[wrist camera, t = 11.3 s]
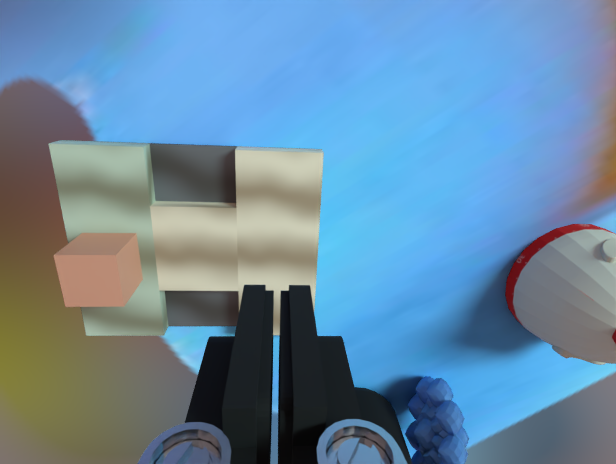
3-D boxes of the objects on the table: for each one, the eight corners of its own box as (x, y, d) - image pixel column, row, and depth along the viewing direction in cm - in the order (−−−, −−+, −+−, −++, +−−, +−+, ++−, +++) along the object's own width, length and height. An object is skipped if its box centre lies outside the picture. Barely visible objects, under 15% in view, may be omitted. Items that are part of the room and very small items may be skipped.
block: (82, 232, 37) (53, 255, 32) (136, 233, 37) (115, 255, 32) (91, 279, 39) (65, 307, 34) (143, 279, 39) (124, 306, 34)
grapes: (433, 432, 52) (475, 528, 41) (386, 427, 51) (415, 523, 40) (463, 363, 48) (518, 449, 37) (412, 356, 47) (453, 442, 36)
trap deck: (60, 140, 35) (48, 143, 34) (321, 149, 37) (323, 152, 35) (94, 324, 43) (86, 335, 41) (311, 324, 45) (312, 335, 43)
